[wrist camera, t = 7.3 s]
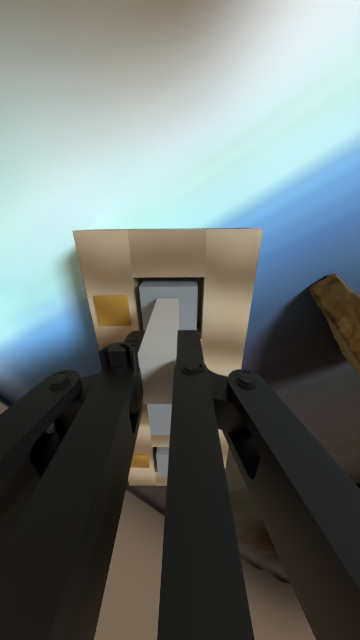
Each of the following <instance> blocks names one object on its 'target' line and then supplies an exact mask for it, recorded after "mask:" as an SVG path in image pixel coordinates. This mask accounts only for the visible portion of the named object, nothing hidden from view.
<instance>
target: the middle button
mask: <svg viewBox="0 0 360 640" xmlns="http://www.w3.org/2000/svg"><path fill="white" fill-rule="evenodd" d="M147 408H148V417H149V426H150V435H170V426H171V410H172V404H147Z"/></svg>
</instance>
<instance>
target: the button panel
mask: <svg viewBox="0 0 360 640" xmlns="http://www.w3.org/2000/svg"><path fill="white" fill-rule="evenodd" d="M262 232H263V229H252V228H207V229H101V230H78V231H73V235H74V240H75V244H76V249H77V253H78V258H79V262H80V267H81V271H82V275H83V280H84V284H85V289H86V293H87V298H88V302H89V307H90V311H91V316H92V320H93V325H94V329H95V334H96V338H97V343H98V347H99V350H100V349H101V348H102V347H104V346H106V345H108V344H112V343H116V342H125V339H126V337H127V335H128V334H130V333H131V332H132V331H143V321H142V312H141V302H140V292H139V286H140V285H141V283H142V282H143V281H144V279H145V278H146V277H196V281H197V285H198V298H197V330H196V331H197V332H198V333H199V334H200V340H201V346H202V352H203V358H204V363H205V364H206V366H207V368H208V369H209V370H210V371H212V372H214V373H216V374H220V375H224V376H228V375H229V374H230V373H231V372H232V371H234V370H237V369H241V365H242V359H243V352H244V346H245V340H246V333H247V327H248V321H249V314H250V308H251V302H252V295H253V289H254V283H255V276H256V270H257V264H258V257H259V251H260V245H261V238H262ZM141 410H142V415H141V420H140V425H139V429H138V434H137V439H136V444H135V448H134V453H133V458H132V462H131V467H130V472H129V477H128V481H129V485H167V476H158V469H157V459H156V452H157V447H169V442H170V435H150V426H149V417H148V408H147V404H144V402H143V398H142V402H141ZM218 432H219V438H220V443H221V449H222V455H223V461H224V467H225V466H226V460H227V454H228V447H229V445H228V443H227V441H226V439H225V437H224V434H223V431H222V430H220V429H218Z"/></svg>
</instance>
